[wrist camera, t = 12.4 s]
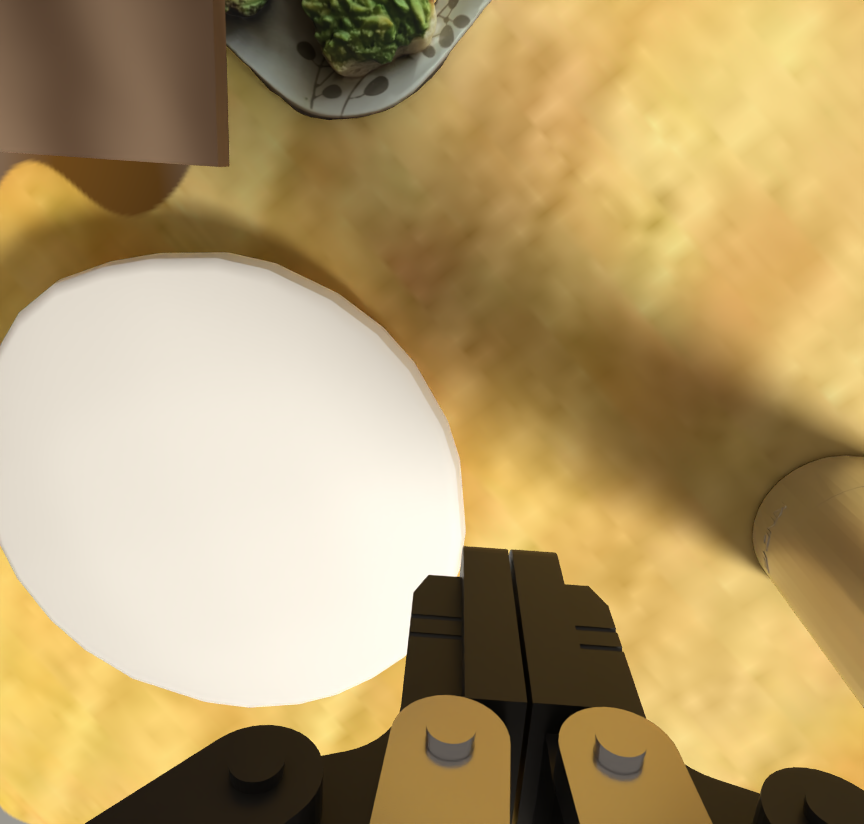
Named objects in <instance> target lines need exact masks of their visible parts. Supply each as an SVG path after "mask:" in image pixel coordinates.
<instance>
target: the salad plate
mask: <svg viewBox="0 0 864 824" xmlns="http://www.w3.org/2000/svg"><path fill="white" fill-rule="evenodd" d="M490 2H491V0H436V2H435V3H434V0H225V22H226V46H228V47H229V48H230V49H231V50H232V51H233V52H234V53H235V54H236V55H237V56H238V57H239V58H240V59H241V60H242V61H243V62H244V63H245V64H247V65H248V66H249V67H250V68H251V69H252V71H253V72H254V73H255V74H256V75H257V76H258V77H259V78H260V80H261V81H262V82H263V83H264V84H265V85H266V86H267V87H268V88H269V90H271V91H272V92H274V93H275V94H277V95H278V96H280V97H281V98H282V99H283V100H284V101H286V102H287V103H288V104H289V105H290V106H291V107H293V108H294V109H295V110H296V111H298V112H300V113H301V114H303V115H306V116H309V117H313V118H320V119H326V120H332V119H351V118H359V117H365V116H368V115H372V114H375V113H379V112H383V111H386V110H388V109H390V108H392V107H394V106H395V105H397V104H398V103H400V102H402V101H403V100H405V99H406V98H408V97H409V96H411V95H412V94H414V93H415V92H417V91H418V90H419V89H420V88H421V87H422V86H423V85H424V84H425V83H426V82H427V81H428V80H429V79H431V78H432V77H433V75H434V74H435V73H436V72H437V71H438V70H439V68H440V67H441V66H442V65H443V63H444V61H445V60H446V58H447V56H448V55H449V53H450V51H451V50H452V49H453V47H454V46H455V45H456V44H457V42H458V41H459V40H460V39H461V37H462V36H463V35H464V34H465V33H466V31H467V30H468V29H469V28H470V27H471V25H472V24H473V23H474V21H475V20H476V19H477V18H478V16H479V15H480V14H481V12H482V11H483V10H484V8H485V7H486V6H487V5H488V4H489V3H490Z"/></svg>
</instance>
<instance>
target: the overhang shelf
mask: <svg viewBox="0 0 864 824" xmlns="http://www.w3.org/2000/svg"><path fill="white" fill-rule="evenodd" d="M0 152H11V153H25V154H40V155H55V156H69V157H83V158H99V159H113V160H128V161H142V162H156V163H171V164H185V165H200V166H214V167H226V166H229V134H228V96H227V59H226V22H225V0H0Z"/></svg>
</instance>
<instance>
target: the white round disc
mask: <svg viewBox="0 0 864 824" xmlns="http://www.w3.org/2000/svg"><path fill="white" fill-rule="evenodd" d="M464 539H465V516H464V504H463V491H462V478H461V465H460V458H459V455H458V452H457V448H456V445H455V442H454V439H453V436H452V432H451V429H450V426H449V423H448V420H447V418H446V416H445V415H444V413H443V411H442V409H441V408H440V406H439V404H438V402H437V401H436V399H435V397H434V395H433V394H432V392H431V390H430V388H429V387H428V385H427V383H426V381H425V380H424V378H423V376H422V375H421V373H420V371H419V369H418V368H417V366H416V364H415V362H414V361H413V360H412V359H411V358H410V357H409V356H408V354H407V353H406V352H405V351H404V350H403V349H402V348H401V347H400V345H399V344H398V343H397V342H396V341H395V340H394V339H393V337H392V336H391V335H390V334H389V333H388V332H387V331H386V330H385V328H384V327H382V326H381V325H380V324H378V323H377V322H376V321H374V320H373V319H372V318H370V317H369V316H368V315H366V314H365V313H364V312H362V311H361V310H360V309H358V308H357V307H356V306H354V305H353V304H352V303H351V302H349V301H348V300H347V299H345V298H344V297H343V296H341V295H340V294H339V293H337V292H334V291H332V290H330V289H328V288H326V287H324V286H322V285H320V284H318V283H316V282H314V281H312V280H310V279H308V278H306V277H303V276H301V275H299V274H297V273H295V272H293V271H291V270H289V269H287V268H285V267H283V266H281V265H279V264H277V263H273V262H269V261H264V260H260V259H256V258H251V257H247V256H242V255H238V254H234V253H229V252H201V253H156V254H151V255H145V256H139V257H133V258H127V259H122V260H116V261H110V262H108V263H105V264H102V265H99V266H96V267H93V268H91V269H88V270H85V271H82V272H79V273H76V274H73V275H71V276H68V277H65V278H62V279H60V280H58V281H57V282H56V283H54V284H53V285H52V286H51V287H49V288H48V289H47V290H46V291H45V292H43V293H42V294H41V295H40V296H39V297H37V298H36V299H35V300H34V301H32V302H31V303H30V304H29V305H28V306H26V307H25V308H24V309H23V310H22V311H20V312H19V313H18V315H17V317H16V319H15V320H14V322H13V324H12V326H11V327H10V329H9V331H8V333H7V334H6V336H5V338H4V340H3V341H2V343H1V345H0V546H1V548H2V550H3V551H4V553H5V555H6V557H7V559H8V561H9V563H10V565H11V567H12V569H13V571H14V573H15V575H16V577H17V578H18V580H19V581H20V582H21V583H22V585H23V586H24V587H25V588H26V590H27V591H28V592H29V593H30V595H31V596H32V597H33V598H34V600H35V601H36V602H37V603H38V605H39V606H40V607H41V608H42V610H43V611H44V612H45V613H46V615H47V616H48V617H49V618H50V620H51V621H53V622H54V623H55V624H56V625H57V626H58V627H59V628H61V629H62V630H63V631H64V632H65V633H66V634H68V635H69V636H70V637H71V638H72V639H73V640H74V641H76V642H77V643H78V644H79V645H80V646H81V647H83V648H84V649H85V650H86V651H88V652H90V653H91V654H93V655H95V656H96V657H98V658H100V659H101V660H103V661H105V662H106V663H108V664H110V665H111V666H113V667H114V668H116V669H118V670H119V671H121V672H123V673H124V674H126V675H128V676H129V677H131V678H133V679H136V680H139V681H142V682H145V683H148V684H151V685H154V686H157V687H160V688H164V689H167V690H170V691H173V692H176V693H179V694H182V695H185V696H188V697H192V698H195V699H198V700H201V701H204V702H209V703H217V704H225V705H233V706H241V707H249V708H250V707H264V706H278V705H292V704H301V703H305V702H309V701H313V700H317V699H321V698H325V697H329V696H333V695H337V694H339V693H341V692H343V691H345V690H347V689H350V688H352V687H354V686H356V685H358V684H360V683H363V682H365V681H367V680H369V679H371V678H373V677H375V676H376V675H378V674H379V673H381V672H382V671H384V670H385V669H387V668H388V667H390V666H391V665H393V664H394V663H396V662H397V661H399V660H400V659H402V658H403V657H404V656H406V655H407V647H408V638H409V628H410V619H411V610H412V600H413V592H414V591H415V590H416V589H417V587H418V586H419V585H420V584H421V583H422V582H423V580H424V579H425V578H426V577H427V576H428V575H439V576H453V577H457V575H458V572H459V570H460V565H461V556H462V548H463V546H464Z"/></svg>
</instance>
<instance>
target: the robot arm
mask: <svg viewBox="0 0 864 824" xmlns="http://www.w3.org/2000/svg"><path fill="white" fill-rule="evenodd" d="M752 538H753V545H754V551H755V554H756V556H757V559H758V561H759V564H760V565H761V566H762V568H763V569H764V571H765V572H766V573H767V575H768V576H769V578H770V579H771V580H772V582H773V583H774V585H775V586H776V587H777V589H778V590H779V592H780V593H781V594H782V596H783V597H784V599H785V600H786V601H787V603H788V604H789V606H790V607H791V609H792V610H793V611H794V613H795V614H796V616H797V617H798V618H799V620H800V621H801V622H802V624H803V625H804V627H805V628H806V629H807V631H808V632H809V633H810V635H811V636H812V638H813V639H814V640H815V642H816V643H817V644H818V646H819V647H820V649H821V650H822V651H823V653H824V654H825V655H826V657H827V658H828V660H829V661H830V662H831V664H832V665H833V667H834V668H835V669H836V671H837V672H838V673H839V675H840V676H841V678H842V679H843V680H844V682H845V683H846V684H847V686H848V687H849V689H850V690H851V691H852V693H853V694H854V695H855V697H856V698H857V700H858V701H859V702H860V704H861V705H862V706H863V708H864V457H860V456H848V455H843V456H834V457H826V458H823V459H820V460H816V461H813V462H810V463H808V464H806V465H804V466H802V467H800V468H798V469H796V470H794V471H792V472H791V473H790V474H788V475H787V476H786V477H784V478H783V479H781V480H780V481H779V482H778V483H777V484H776V485H775V486H774V487H773V489H772V490H771V491H770V492H769V493H768V494H767V496H766V497H765V499H764V501H763V502H762V504H761V505H760V507H759V510H758V512H757V515H756V518H755V521H754V527H753V536H752ZM85 824H864V791H863V790H862V789H860V788H859V787H857V786H855V785H854V784H852V783H850V782H848V781H846V780H844V779H842V778H840V777H837V776H835V775H832V774H829V773H827V772H823V771H819V770H816V769H809V768H798V767H793V768H785V769H782V770H778V771H776V772H774V773H773V774H771V775H770V776H769V777H768V778H767V779H766V780H765V782H764V784H763V786H762V789H761V792H760V794H759V793H756V792H753V791H750V790H747V789H744V788H741V787H738V786H735V785H732V784H729V783H726V782H723V781H720V780H717V779H714V778H711V777H709V776H706V775H703V774H701V773H699V772H697V771H695V770H693V769H691V768H690V767H688V766H686V765H685V764H684V762H683V760H682V757H681V755H680V753H679V751H678V749H677V748H676V746H675V744H674V743H673V741H672V740H671V739H670V738H669V736H668V735H667V734H666V733H665V732H664V731H663V730H661V729H660V728H659V727H658V726H656V725H655V724H654V723H652V722H651V721H649V720H647V719H646V717H645V714H644V711H643V708H642V705H641V702H640V699H639V696H638V693H637V690H636V687H635V684H634V681H633V678H632V675H631V672H630V669H629V666H628V663H627V660H626V657H625V654H624V652H622V646H621V643H620V640H619V637H618V634H617V633H616V628H615V625H614V622H613V619H612V616H611V613H610V610H609V607H608V605H607V604H606V603H605V602H604V601H603V600H602V599H601V598H600V597H599V596H598V595H597V594H596V593H595V592H594V591H593V590H592V589H591V588H590V587H589V586H579V585H565V584H564V580H563V576H562V572H561V568H560V564H559V560H558V556H557V554H556V553H553V552H539V551H525V550H510V553H509V554H508V550H507V549H495V548H482V547H468V546H463V548H462V556H461V567H460V577H453V576H439V575H428V576H427V577H426V578H425V579H424V580H423V582H422V583H421V584H420V585H419V586H418V587H417V589H416V590H415V591H414V592H413V600H412V610H411V619H410V628H409V638H408V647H407V656H406V666H405V675H404V684H403V693H402V703H401V708H400V713H399V714H398V715H397V717H396V718H395V720H394V722H393V724H392V727H391V728H390V729H389V730H388V731H387V732H386V733H385V734H383V735H382V736H381V737H379V738H378V739H377V740H375V741H373V742H371V743H369V744H367V745H365V746H362V747H360V748H357V749H353V750H349V751H345V752H340V753H334V754H329V755H324V756H321V755H320V752H319V750H318V749H317V747H316V746H315V745H314V743H313V742H312V741H311V740H310V739H308V738H307V737H306V736H304V735H303V734H301V733H300V732H297V731H295V730H293V729H290V728H286V727H282V726H274V725H259V726H252V727H247V728H243V729H239V730H237V731H234V732H231V733H229V734H227V735H225V736H223V737H222V738H220V739H218V740H216V741H215V742H213V743H212V744H210V745H208V746H207V747H205V748H204V749H202V750H201V751H199V752H197V753H196V754H194V755H193V756H191V757H189V758H188V759H186V760H185V761H183V762H182V763H180V764H178V765H177V766H175V767H174V768H172V769H170V770H169V771H167V772H166V773H164V774H163V775H161V776H159V777H158V778H156V779H155V780H153V781H151V782H150V783H148V784H147V785H145V786H144V787H142V788H140V789H139V790H137V791H136V792H134V793H132V794H131V795H129V796H128V797H126V798H125V799H123V800H121V801H120V802H118V803H117V804H115V805H113V806H112V807H110V808H109V809H107V810H106V811H104V812H102V813H101V814H99V815H98V816H96V817H94V818H93V819H91V820H90V821H88V822H87V823H85Z"/></svg>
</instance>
